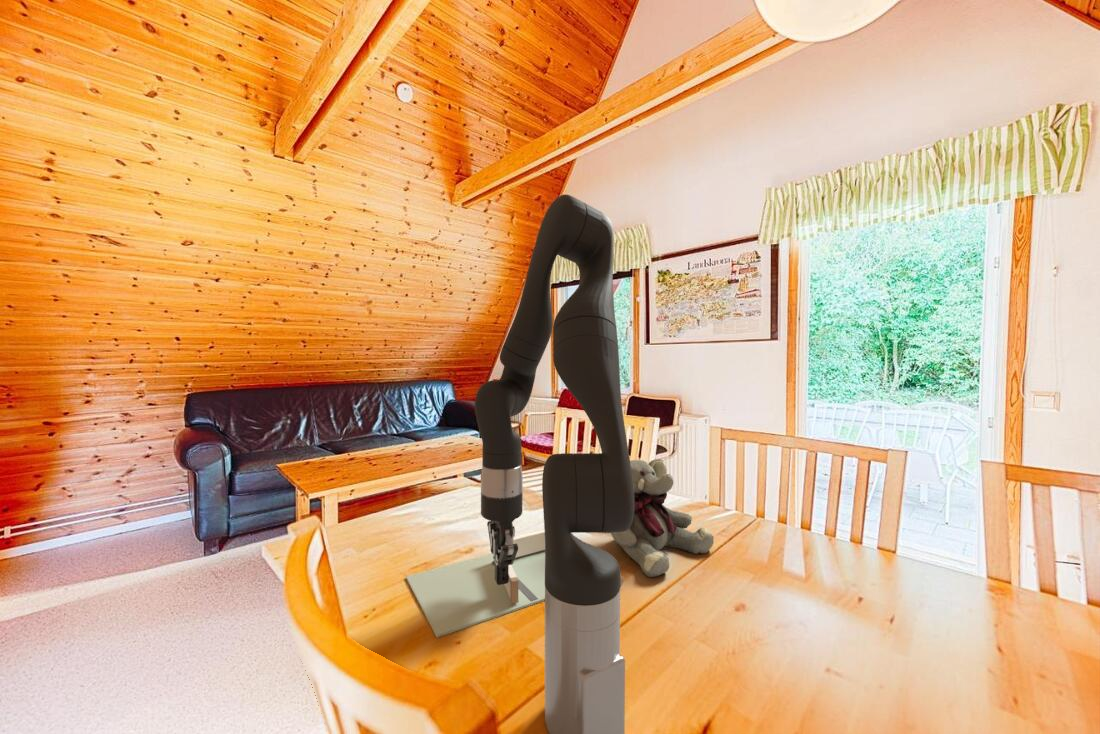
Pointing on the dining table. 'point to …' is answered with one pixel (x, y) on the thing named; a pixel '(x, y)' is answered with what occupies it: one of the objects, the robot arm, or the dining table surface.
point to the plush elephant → (657, 521)
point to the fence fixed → (530, 543)
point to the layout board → (475, 591)
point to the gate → (512, 585)
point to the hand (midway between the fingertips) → (501, 582)
